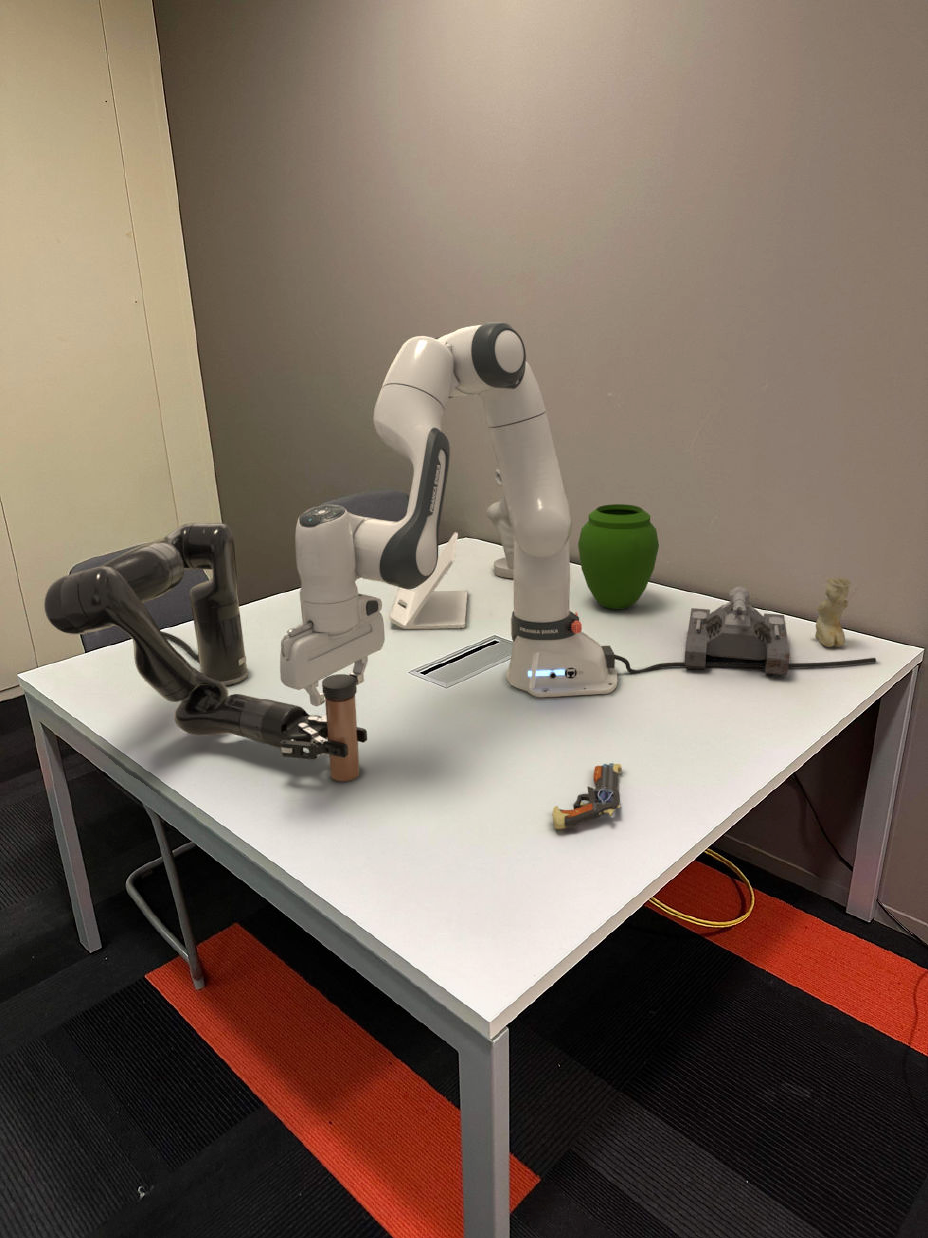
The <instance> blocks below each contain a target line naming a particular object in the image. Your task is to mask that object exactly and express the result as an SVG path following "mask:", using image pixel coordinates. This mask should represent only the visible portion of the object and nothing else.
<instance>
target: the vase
mask: <svg viewBox="0 0 928 1238" xmlns="http://www.w3.org/2000/svg"><path fill="white" fill-rule="evenodd" d="M587 516H588V517H587V518H588V521H587V522H586V523H585V524H584V525H583V526H582V527H581V529H580V534H579V538H578V541H577V546H578V554H579V562H580V569H581V571H582V574H583V577H584V580H585V583H586V585H587V588H588V590H589V591H590V594H592V597H593V598H594V600H595V601H596V602H597V603H598V604H599V605H600V606H602V607H604V608H606V609H609V610H625V609H628V608H630V607H632V606H634V604H636V602H638V601H639V599H640V597H641V596H642V595H643V593H644V592H645V590H646V588H647V586H648V584H649V581H650V579H651V577H652V574H653V572H654V570H655V566H656V562H657V557H658V552H659V548H660V544H659V543H660V542H659V537H658V531H657V528H656V527H655V526H654V524H653V523H652V522H651V515H650V514H649V512H647V511H645V510H644V509H643V508H642V507H641V506H638V505H633V504H622V503H621V504H619V503H616V504H615V503H614V504H604V505H601V506H598V507H597V508H595V509H594V510H592V511H591V512H590V513H589V514H588V515H587Z"/></svg>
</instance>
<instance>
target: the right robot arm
mask: <svg viewBox="0 0 928 1238" xmlns="http://www.w3.org/2000/svg"><path fill="white" fill-rule="evenodd" d="M473 395H478V396H479V398H480V399H481V401H482V404H483V410H484V415H485V420H486V424H487V428H488V432H489V436H490V440H491V444H492V447H493V448H492V449H493V451H494V455H495V459H496V464H497V463H498V467H499V471H500V477H501V482H502V486H501V488H502V487H503V488H502V493H503V492H504V496H505V501H506V506H507V510H508V515H509V519H510V523H511V528H512V532H513V535H514V574H513V576H514V578H513V611H512V612H511V618H510V635H511V640H512V645H511V646H512V647H511V655H510V660H509V665H508V669H507V672H506V675H505V678H506V681H507V683H509V684H510V685H511V686H513V687H515V688H517V689H519V690H522V691H525V692H527V693H529V694H530V695H531V696H533V697H535V698H556V697H572V696H573V697H574V696H588V695H589V696H590V695H591V696H592V695H607V694H611V693H612V692H613V691H615V690H616V688H617V686H618V673H617V670H616V667H615V666H616V661H619V662H622V663H623V664H624V665H625V669H626V671H627V672H628V673H629V674H633V675H636V674H637V675H638V674H642V673H647V672H648V673H649V672H651V671H654V670H657V669H661V668H674V667H675V668H678V667H686V665H685V663H684V662H685V661H683V662H681V661H676V662H675V661H674V662H660V663H656V664H653V665H650V666H647V667H645V668H642V669H633V668H632V667H631V664H630V662H629V661H628V659H627V658H625V657H623V656H620V655H619V654H618V655H617V654H615V652H614V650H613V649H612V647H611V645H601V644H600V643H599V642H598V641H596V640H595V639H593V638H591V637H590V636H589V635H587V634H586V633H585V632H583V631H582V630H583V626H582V625H583V624H582V622H581V621H580V616H579V615H578V612H577V611H575V613H574V612H573V611H571V610H570V590H571V589H570V586H571V585H570V584H571V556H570V555H571V553H570V552H571V550H570V549H571V547H570V545H571V537H570V536H571V533H572V525H573V524H572V515H571V505H570V502H569V499H568V497H567V496H566V492H565V487H564V482H563V479H562V473H561V469H560V464H559V459H558V455H557V451H556V446H555V442H554V438H553V433H552V430H551V426H550V422H549V417H548V413H547V409H546V404H545V401H544V398H543V395H542V392H541V389H540V386H539V383H538V380H537V379H536V376H535V374H534V371H533V369H532V367H531V365H530V364H529V362H528V361H527V352H526V347H525V343H524V341H523V339H522V337H521V335H520V334H519V333H518V331H517V330H516V328H514V327H513V326H512V325H511V324H509V323H507V322H502V321H487V322H485V323H483V324H478V325H471V326H466V327H462V328H459V329H456V330H455V331H453V332H450V333H447V334H445V335H443V336H440V337H431V336H426V335H418V336H414V337H411V338H409V339H408V340H406V341H405V342H404V343H403V344H402V345H401V347H400V348H399V351H398V352H397V353H396V355H395V358H394V359H393V361H392V363H391V365H390V367H389V369H388V371H387V373H386V375H385V378H384V380H383V383H382V386H381V388H380V391H379V394H378V396H377V399H376V402H375V405H374V409H373V410H374V411H373V425H374V429H375V431H376V434H377V436H378V437H379V439H380V440H381V441H382V443H383V444H384V445H385V446H387V447H388V448H389V449H390V450H391V451H392V452H394V453H395V454H396V455H398V456H400V457H401V458H403V459H405V460H406V461H408V462H410V463H411V464H412V467H413V476H412V482H411V488H410V494H409V497H408V498H409V499H408V505H407V510H406V514H405V515H404V517H403V518H402V519H401V520H398V521H392V520H386V519H377V518H374V517H368V516H367V517H366V516H361V515H357V514H354V513H351V512H349V511H347V509H346V508H345V507H344V506H342V505H339V504H323V505H318V506H317V505H316V506H313V507H311V508H308V509H307V510H305V511H303V512H302V513H301V514H299V517H298V518H297V522H296V526H295V534H294V535H295V539H294V545H295V547H294V548H295V561H296V571H297V573H298V576H299V578H300V590H299V601H300V612H301V620H302V623H301V624H299V625H297V626H296V627H292V628H290V629H288V630H287V631H286V633H285V635H284V636H283V638H282V639H281V640H280V655H279V656H280V657H279V658H280V660H279V671H280V672H279V673H280V674H279V675H280V681H281V683H282V684H283V685H284V686H285V687H287V688H291V689H293V690H297V691H301V690H303V689H304V690H305V692H306V693H307V694H308V695H309V703H310V704H311V705H312V706H313V707H319V706H321V705H323V704H325V697H324V693H323V692H321V691H319V690H318V689H317V688H318V687H319V686H320V685H319V681H321V680H324V679H325V678H326V677H329V676H332V675H334V674H335V673H336V672H339V671H341V670H344V669H345V668H347V667H348V666H351V665H352V664H353V668H352V671H351V672H350V673H349V675H351V676H353V677H354V678H355V679H356V686H358V685H360V684H363V683H364V682H365V677H364V676H365V675H364V673H365V671H366V667H367V666H368V662H369V659H368V658H369V656H370V655H373V654H375V653H377V652H378V651H380V650H382V648H383V646H384V644H385V639H386V638H385V623H384V617H383V614H382V613H381V611H382V608H383V602H382V599H381V598H379V597H376V596H372V595H368V594H363V593H359V589H358V586H357V583H356V581H357V580H358V579H363V580H369V581H375V582H380V583H384V584H387V585H390V586H394V587H397V588H399V587H400V588H404V589H408V590H413V589H417V587H418V586H419V585H421V584H422V583H424V582H425V581H426V580H427V579H428V578H429V577H430V576H431V575H432V574H433V572H434V571H435V568H436V565H437V561H438V556H439V533H440V525H441V520H442V519H441V518H442V513H443V506H444V501H445V495H446V488H447V481H448V475H449V467H450V455H451V451H450V450H451V447H450V441H449V439H448V437H447V436H446V434H445V433H444V432H443V427H442V426H443V419H444V415H445V412H446V409H447V406H448V403H449V399H451V398H454V397H468V396H473ZM876 662H877V659H876V657H869V658H859V659H852V660H851V659H850V660H842V661H841V660H840V661H826V662H824V661H823V662H798V663H797V662H793V663H791V662H789V666H788V669H790V668H791V669H792V668H795V669H797V668H823V667H824V668H825V667H839V666H851V665H860V664H869V663H876ZM705 667H718V668H719V667H720V668H721V667H722V668H723V667H724V668H725V667H727V668H736V667H737V668H765V662H728V661H727V662H724V661H721V662H720V661H719V662H718V661H716V662H715V661H706V662H705Z"/></svg>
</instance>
